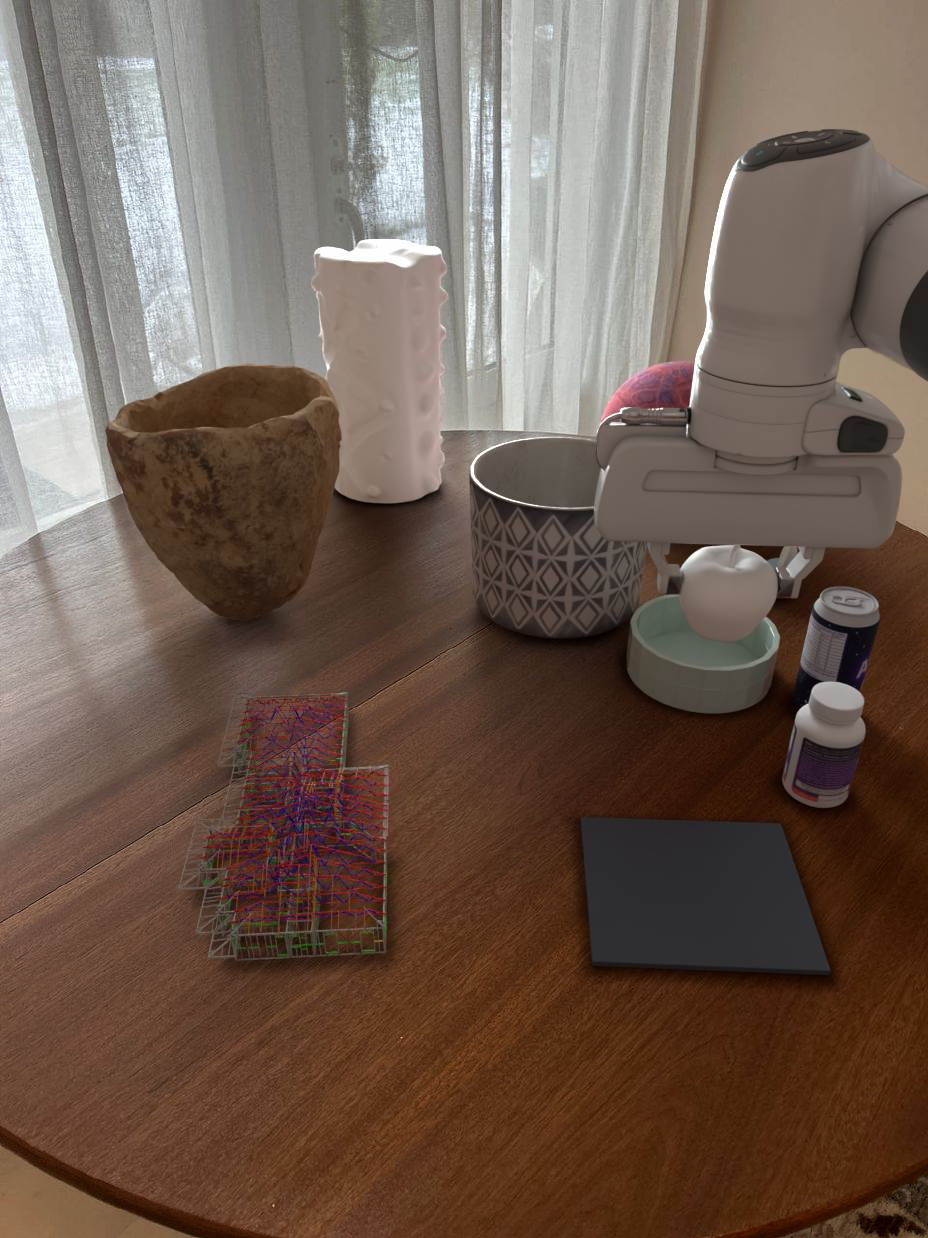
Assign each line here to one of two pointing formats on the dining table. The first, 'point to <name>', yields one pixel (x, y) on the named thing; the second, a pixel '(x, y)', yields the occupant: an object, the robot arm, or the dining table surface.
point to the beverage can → (837, 641)
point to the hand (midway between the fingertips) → (726, 592)
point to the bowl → (232, 481)
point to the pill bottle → (825, 746)
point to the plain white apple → (726, 592)
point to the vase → (384, 365)
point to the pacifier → (784, 557)
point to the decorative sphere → (654, 389)
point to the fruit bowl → (697, 661)
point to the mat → (697, 897)
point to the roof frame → (302, 808)
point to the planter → (547, 542)
